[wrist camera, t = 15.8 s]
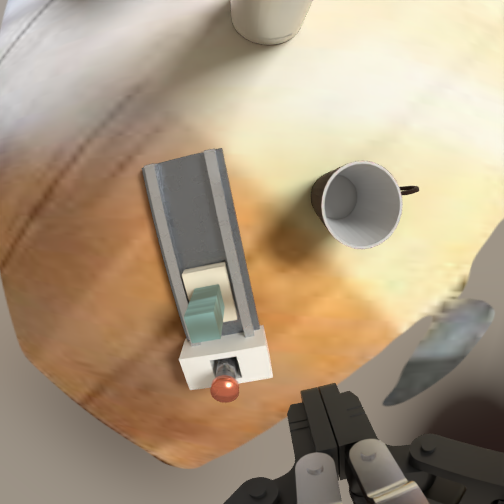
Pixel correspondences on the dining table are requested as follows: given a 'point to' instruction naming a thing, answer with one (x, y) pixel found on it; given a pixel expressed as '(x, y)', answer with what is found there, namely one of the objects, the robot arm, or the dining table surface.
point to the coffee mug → (359, 203)
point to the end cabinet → (207, 354)
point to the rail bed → (200, 229)
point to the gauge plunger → (225, 381)
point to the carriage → (208, 301)
